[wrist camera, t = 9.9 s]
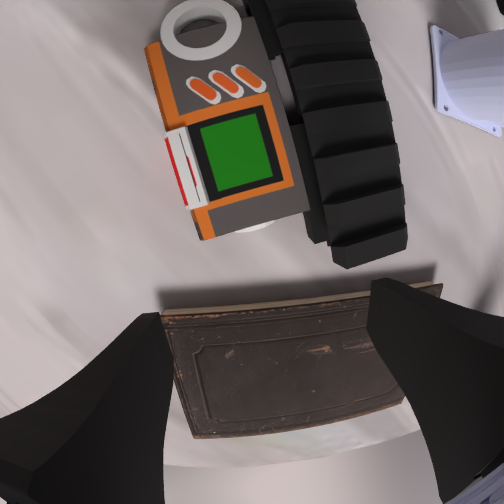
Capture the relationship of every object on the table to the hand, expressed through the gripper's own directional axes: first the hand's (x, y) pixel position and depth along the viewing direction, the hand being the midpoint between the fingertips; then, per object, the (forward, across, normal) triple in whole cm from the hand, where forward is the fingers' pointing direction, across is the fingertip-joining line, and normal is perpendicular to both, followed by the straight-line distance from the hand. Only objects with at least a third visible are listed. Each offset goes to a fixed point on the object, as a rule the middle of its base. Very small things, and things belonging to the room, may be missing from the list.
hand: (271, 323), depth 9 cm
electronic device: (+11, +1, -8) cm, 14 cm away
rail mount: (+11, -6, -10) cm, 16 cm away
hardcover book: (+11, -4, +14) cm, 18 cm away
